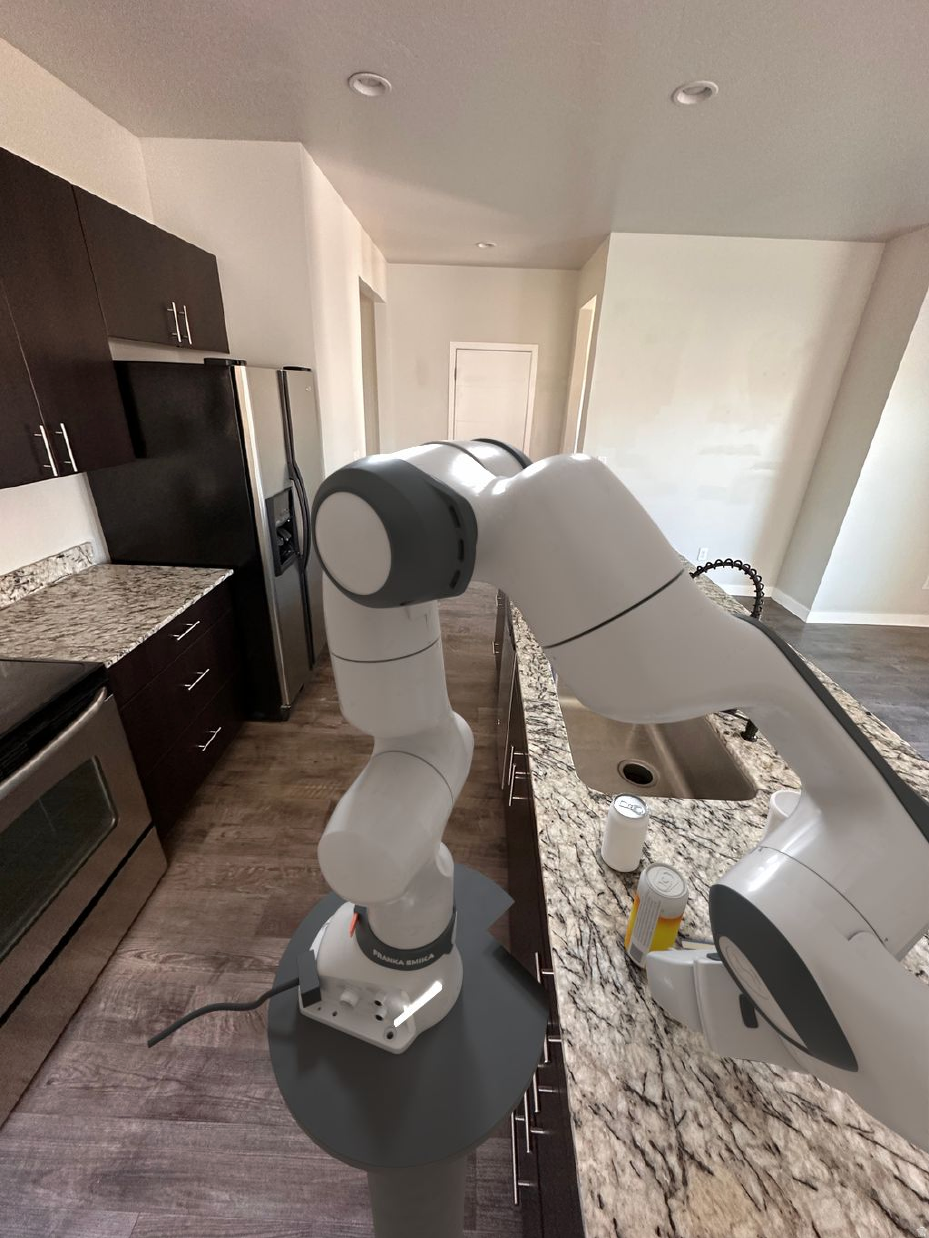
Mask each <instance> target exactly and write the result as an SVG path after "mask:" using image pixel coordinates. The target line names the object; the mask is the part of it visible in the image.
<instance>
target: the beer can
mask: <svg viewBox="0 0 929 1238" xmlns="http://www.w3.org/2000/svg"><path fill="white" fill-rule="evenodd" d="M689 896H690V892H689V888H688V882H687V880H686V878H685V876H684V875H683V873H682V872H681V871H679V870H678V869H677V868H676V867H675V866H672V865H670V864H668V863H666V862H652V863H650V864H648V866H646V867H645V868H644V869H643V870H641V873H640V875H639V880H638V884H637V887H636V892H635V896H634V900H633V904H632V909H631V913H630V916H629V920H628V925H627V928H626V933H625V937H624V947H625V950H626V952H627V954H628V956H629V957H630V959H631V960H632V961H633V963H635V964H636V965H637V966H638V967H640V968H642V969H644V970H646V955H647V954H648V953H649V952H652V951H668V948H673V947H674V946H675V942H676V939H677V936H678V933H679V930H680V926H681V924H682V920H683V917H684V914H685V911H686V907H687V904H688V901H689Z"/></svg>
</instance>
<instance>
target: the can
mask: <svg viewBox="0 0 929 1238" xmlns="http://www.w3.org/2000/svg"><path fill="white" fill-rule="evenodd" d="M649 809H650V808H649V806H648V804H647V802H646V801H645V800H644V799H643V798H642V797H640V796H638V795H636V794H633V793H630V792H620V793H618V794H616V795H615V796H614V798H613V799H612V801H611V803H610V804H609V807H608V811H607V816H606V820H605V821H606V822H605V826H604V832H603V837H602V843H601V849H600V854H601V857H602V859H603V862H605V863H606V865H607V866H609V867H610V868H611V869H613V870H615V871H617V872H620V873H628V872H633V871H635V870H636V869H637V868H638V867H639V865H640V861H641V857H642V853H643V849H644V845H645V841H646V836H647V832H648V828H649V824H650V819H651V817H650V810H649Z"/></svg>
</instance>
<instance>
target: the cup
mask: <svg viewBox="0 0 929 1238" xmlns="http://www.w3.org/2000/svg"><path fill="white" fill-rule="evenodd" d="M800 796H801V792H799V791H795V790H789V789H781V790H780V789H779V790H777V791H775V792H773V793H772V794H771V795H770V798H769V809H768V812H767V816H766V820H765V823H764V826H763V829H762V832H761V836H760V840H759V843H760V842H761V841H762V840H763V839H764V838H765V837H766V836H768V835H769V834H770V833H771V832H772V831H773V830H774V829H775V828H776V827H777V826H778V825H780V824H781V823H782V822H783V821H784V820H785V819H786V818H787V817H788V816H789V815H790V814H791V813H792V812H793V811H794V809H795V807H796V806H797V804H798V801H799V799H800Z"/></svg>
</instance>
